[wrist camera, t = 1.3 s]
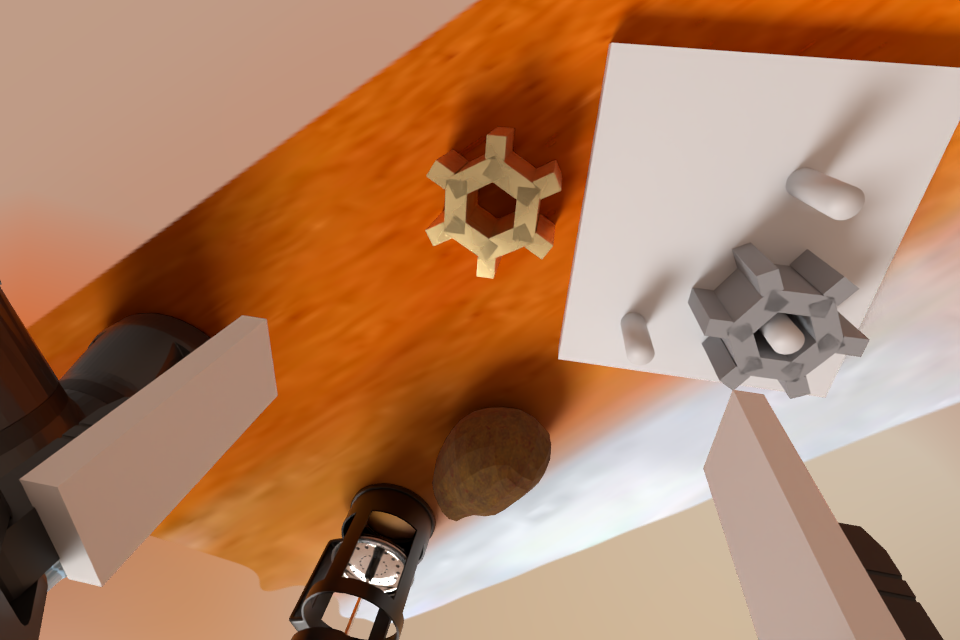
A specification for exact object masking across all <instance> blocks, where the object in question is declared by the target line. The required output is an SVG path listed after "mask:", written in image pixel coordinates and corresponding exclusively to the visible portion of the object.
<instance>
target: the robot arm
mask: <svg viewBox="0 0 960 640" xmlns="http://www.w3.org/2000/svg"><path fill="white" fill-rule="evenodd" d="M0 285H1V281H0ZM276 396H277V388H276V381H275V374H274V367H273V360H272V354H271V347H270V340H269V333H268V326H267V319H263V318H257V317H250V316H244V315H242V316H241V317H239V318H238V319H237V320H235V321H234V322H233V323H231V324H230V325H228V326H227V327H226V328H224V329H223V330H222V331H220V332H219V333H218V334H216V335H215V336H213V337H212V338H209V337H208V336H207V335H205V334H204V333H203V332H201V331H200V330H198V329H197V328H195V327H193V326H191V325H190V324H188V323H186V322H183V321H181V320H179V319H176V318H173V317H170V316H166V315H161V314H154V313H141V314H135V315H131V316H128V317H126V318H124V319H122V320H120V321H118V322H117V323H115V324H113V325H111V326H109V327H108V328H106V329H104V330H103V331H102V332H101V333H99V334H98V335H97V336H96V337H95V338H94V340H93V341H92V343H91V344H90V345H89V347H88V349H87V350H86V351H85V352H84V354H83V355H82V356H81V357H80V358H79V359H78V360H77V361H76V362H75V363H74V364H73V366H72V367H71V368H70V369H69V370H68V371H67V372H66V374H65V375H64V376H63V377H62V378H61V379H60V380H58V379H57V377H56V375H55V374H54V372H53V371H52V369H51V368H50V366H49V364H48V363H47V361H46V360H45V358H44V356H43V355H42V353H41V352H40V350H39V348H38V347H37V345H36V344H35V342H34V340H33V339H32V337H31V336H30V334H29V332H28V331H27V329H26V328H25V326H24V324H23V323H22V321H21V320H20V318H19V317H18V315H17V314H16V312H15V310H14V309H13V307H12V306H11V304H10V302H9V301H8V299H7V297H6V296H5V294H4V292H3V291H2V289H1V287H0V640H38V639H39V634H40V628H41V623H42V617H43V612H44V606H45V601H46V595H47V592H48V591H49V590H50V589H51V588H52V587H53V586H54V585H55V584H57V583H58V582H59V581H60V580H61V579H63V578H65V577H68V579H71V580H75V581H79V582H84V583H88V584H92V585H97V586H103V585H104V584H105V583H106V582H107V581H108V580H109V578H111V576H112V575H113V574H114V573H115V572H116V571H117V570H118V569H119V568H120V567H121V566H122V564H123V563H124V562H125V561H126V560H127V559H128V558H129V557H130V556H131V555H132V554H133V552H134V551H135V550H136V549H137V548H138V547H139V546H140V545H141V544H142V543H143V542H144V540H145V539H146V538H147V537H148V536H149V535H150V534H151V533H152V532H153V531H154V530H155V528H156V527H157V526H158V525H159V524H160V523H161V522H162V521H163V520H164V519H165V518H166V516H167V515H168V514H169V513H170V512H171V511H172V510H173V509H174V508H175V507H176V506H177V504H178V503H179V502H180V501H181V500H182V499H183V498H184V497H185V496H186V495H187V494H188V492H189V491H190V490H191V489H192V488H193V487H194V486H195V485H196V484H197V483H198V482H199V480H200V479H201V478H202V477H203V476H204V475H205V474H206V473H207V472H208V471H209V470H210V468H211V467H212V466H213V465H214V464H215V463H216V462H217V461H218V460H219V459H220V458H221V456H222V455H223V454H224V453H225V452H226V451H227V450H228V449H229V448H230V447H231V446H232V444H233V443H234V442H235V441H236V440H237V439H238V438H239V437H240V436H241V435H242V434H243V432H244V431H245V430H246V429H247V428H248V427H249V426H250V425H251V424H252V423H253V422H254V420H255V419H256V418H257V417H258V416H259V415H260V414H261V413H262V412H263V411H264V410H265V408H266V407H267V406H268V405H269V404H270V403H271V402H272V401H273V400H274V399H275V398H276ZM703 469H704V472H705V475H706V478H707V481H708V484H709V487H710V491H711V494H712V497H713V500H714V503H715V506H716V509H717V512H718V515H719V518H720V521H721V525H722V528H723V531H724V534H725V537H726V540H727V543H728V547H729V550H730V553H731V556H732V559H733V562H734V565H735V568H736V572H737V575H738V577H739V581H740V584H741V587H742V590H743V593H744V596H745V600H746V603H747V606H748V609H749V612H750V615H751V618H752V621H753V625H754V628H755V631H756V634H757V637H758V640H943V638H942V637H941V635H940V634H939V632H938V631H937V629H936V627H935V626H934V624H933V623H932V621H931V620H930V618H929V617H928V616H927V613H926V612H925V610H924V609H923V607H922V606H921V604H920V603H919V602H916V600H915V598H916V596H915V595H914V593H913V592H912V590H911V589H910V587H909V586H908V584H907V583H906V581H903V580H902V575H901V573H900V572H899V570H898V569H897V567H896V565H895V564H894V563H893V561H892V559H891V558H890V556H889V555H888V553H887V551H886V550H885V549H884V548H883V547H881V545H879V543H877V542H876V541H875V540H874V539H873V538H872V537H871V536H870V535H869V534H868V533H867V532H866V531H865V530H864V529H863V528H861V527H860V526H854V525H849V524H843V523H838V522H837V520H836V518H835V517H834V515H833V513H832V512H831V510H830V508H829V506H828V505H827V503H826V501H825V499H824V498H823V496H822V494H821V493H820V491H819V489H818V487H817V486H816V484H815V482H814V481H813V479H812V477H811V475H810V474H809V472H808V470H807V468H806V467H805V465H804V463H803V461H802V460H801V458H800V456H799V455H798V453H797V451H796V449H795V448H794V446H793V444H792V443H791V441H790V439H789V437H788V436H787V434H786V432H785V430H784V429H783V427H782V425H781V424H780V422H779V420H778V418H777V417H776V415H775V413H774V411H773V410H772V408H771V406H770V405H769V403H768V401H767V399H766V398H765V396H764V394H757V393H750V392H744V391H737V390H733V391H732V394H731V396H730V399H729V402H728V404H727V407H726V410H725V412H724V415H723V417H722V420H721V423H720V425H719V428H718V431H717V433H716V436H715V439H714V441H713V444H712V447H711V449H710V452H709V455H708V457H707V460H706V462H705V465H704V468H703Z"/></svg>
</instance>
